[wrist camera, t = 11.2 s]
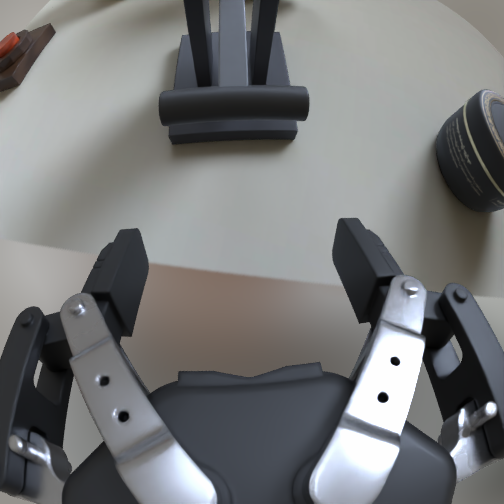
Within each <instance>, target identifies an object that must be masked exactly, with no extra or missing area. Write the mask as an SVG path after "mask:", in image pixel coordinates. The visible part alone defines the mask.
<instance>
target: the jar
mask: <svg viewBox="0 0 504 504" xmlns="http://www.w3.org/2000/svg"><path fill="white" fill-rule="evenodd" d="M436 146H437V148H436V149H437V158H438V162H439V166H440V169H441V172H442V174H443V176H444V178H445V180H446V182H447V184H448V186H449V187H450V189H451V190H452V192H453V193H454V194H455V196H456V197H457V198H458V199H459V200H460V201H461V202H462V203H463V204H465V205H466V206H468V207H469V208H471V209H472V210H475V211H478V212H493V211H497V210H500V209H503V208H504V98H502V97H501V96H500V95H499V94H497V93H495V92H493V91H491V90H487V89H486V90H481V91H479V92H478V93H476V94H475V95H474V96H473V97H471V98H470V99H469V100H467V101H466V103H465V104H464V105H463V106H462V107H461V108H460V109H459V110H457V111H456V112H455V113H454V114H453V115H452V116H451V117H449V118H448V119H447V120H446V121H445V123H444V124H443V126H442V128H441V130H440V131H439V134H438V136H437V143H436Z"/></svg>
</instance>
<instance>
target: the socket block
mask: <svg viewBox="0 0 504 504" xmlns="http://www.w3.org/2000/svg"><path fill="white" fill-rule="evenodd" d="M55 33H56V32H55V30H54V28H53V27H52V25H51V23H49V24H47V25H44V26H42V27H40V28H37V29H35V30H33V31H30V32H28V31H27V30H23V31H21V32H19V33H17V34H16V35H17V37H18V38H19V41H18V42H17V44H16V45H15V46H14V47H13V48H12V49H11V50H10V51H9V52H8V53H7V54H6V55H5V56H3V57H2V58H0V92H1V91H4V90H6V89H9V88H12V87H15V86H18V85H20V84H21V82H22V80H23V79H24V77H25V76H26V74H27V72H28V71H29V69H30V68H31V66H32V65H33V63H34V62H35V60H36V59H37V57H38V56H39V54H40V53H41V51H42V50H43V49H44V47H45V46H46V45H47V43H48V42H49V41H50V39H51V38H52V37H53V35H54V34H55Z"/></svg>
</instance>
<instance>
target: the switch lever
mask: <svg viewBox="0 0 504 504" xmlns="http://www.w3.org/2000/svg"><path fill="white" fill-rule="evenodd" d="M308 113H309V94H308V91H307V88H306V87H302V86H284V85H248V64H247V41H246V18H245V0H219V86H210V87H198V88H187V89H178V90H170V91H163V92H161V94H160V97H159V116H160V120H161V123H162V125H163V126H171V125H181V124H191V123H203V122H219V121H243V120H287V121H305V120H306V119H307V116H308Z"/></svg>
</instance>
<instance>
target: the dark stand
mask: <svg viewBox="0 0 504 504" xmlns="http://www.w3.org/2000/svg"><path fill="white" fill-rule="evenodd" d="M278 4H279V0H253V9H252V23H251V31H246V41H247V64H248V85H284V86H290V81H289V76H288V71H287V65H286V60H285V55H284V51H283V46H282V41H281V37H280V32H274V30H275V23H276V17H277V11H278ZM184 7H185V14H186V20H187V27H188V33H189V35H182V38H181V44H180V49H179V55H178V61H177V68H176V75H175V82H174V89H173V90H178V89H187V88H198V87H210V86H219V32H212V33H211V24H210V10H209V0H184ZM297 132H298V129H297V122H296V121H287V120H243V121H219V122H203V123H191V124H181V125H171V126H169V138H170V140H171V143H172V144H182V143H194V142H207V141H224V140H253V139H291V140H294V139H295V137H296V134H297Z"/></svg>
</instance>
